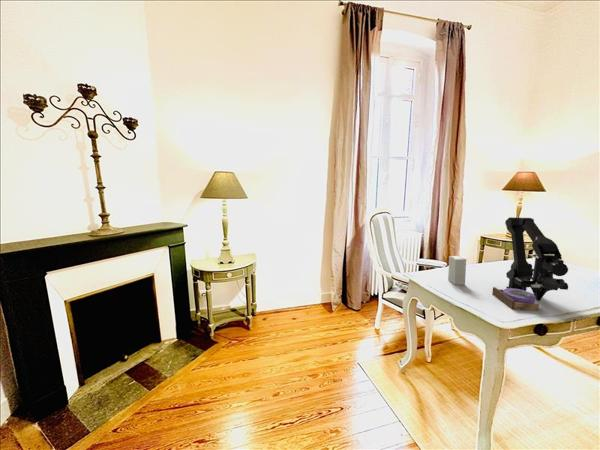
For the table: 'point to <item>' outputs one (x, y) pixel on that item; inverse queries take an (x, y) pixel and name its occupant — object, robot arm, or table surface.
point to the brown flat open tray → (511, 303)
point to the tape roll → (520, 295)
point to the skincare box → (457, 270)
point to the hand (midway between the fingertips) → (537, 300)
